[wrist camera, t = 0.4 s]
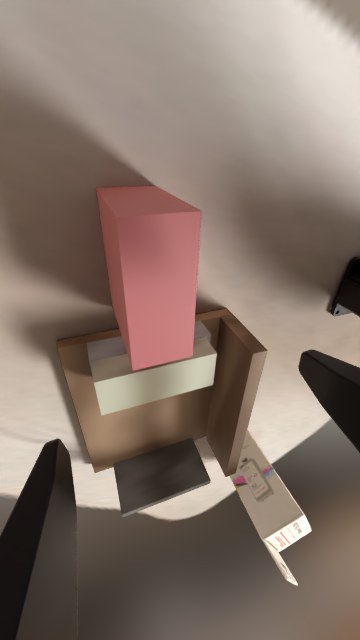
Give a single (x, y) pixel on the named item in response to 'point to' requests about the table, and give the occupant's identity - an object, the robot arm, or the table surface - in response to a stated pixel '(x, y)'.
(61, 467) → the robot arm
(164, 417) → the shelf
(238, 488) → the ink cartridge box
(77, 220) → the table surface
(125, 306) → the tall dusty pink block
